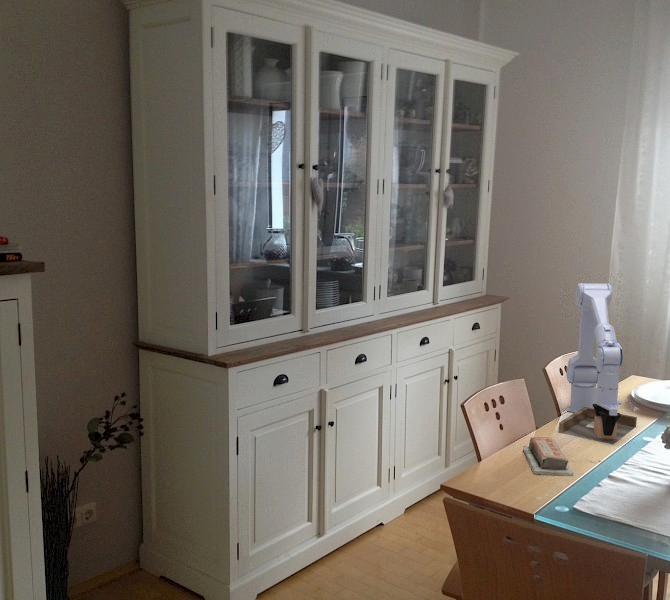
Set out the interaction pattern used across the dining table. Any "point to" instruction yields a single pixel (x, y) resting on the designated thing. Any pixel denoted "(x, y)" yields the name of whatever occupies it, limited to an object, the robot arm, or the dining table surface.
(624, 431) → the tray
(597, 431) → the cube
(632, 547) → the dining table surface
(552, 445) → the packaged product
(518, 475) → the dining table surface
